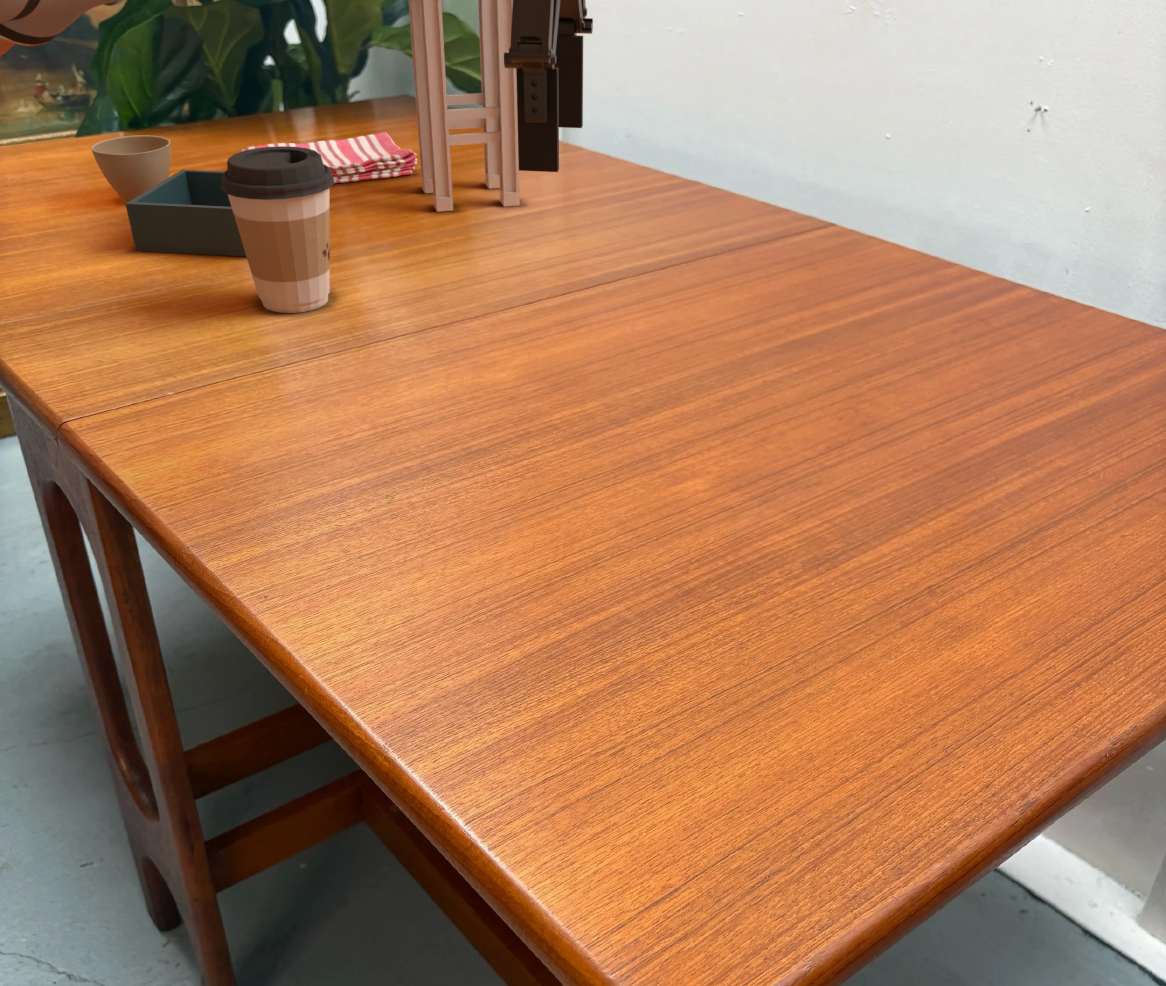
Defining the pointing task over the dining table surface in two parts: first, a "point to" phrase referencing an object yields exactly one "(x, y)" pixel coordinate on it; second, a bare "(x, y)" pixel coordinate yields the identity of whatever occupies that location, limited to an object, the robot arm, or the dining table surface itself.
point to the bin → (186, 216)
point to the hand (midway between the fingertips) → (553, 147)
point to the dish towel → (360, 157)
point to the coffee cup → (283, 223)
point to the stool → (465, 102)
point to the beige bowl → (133, 163)
